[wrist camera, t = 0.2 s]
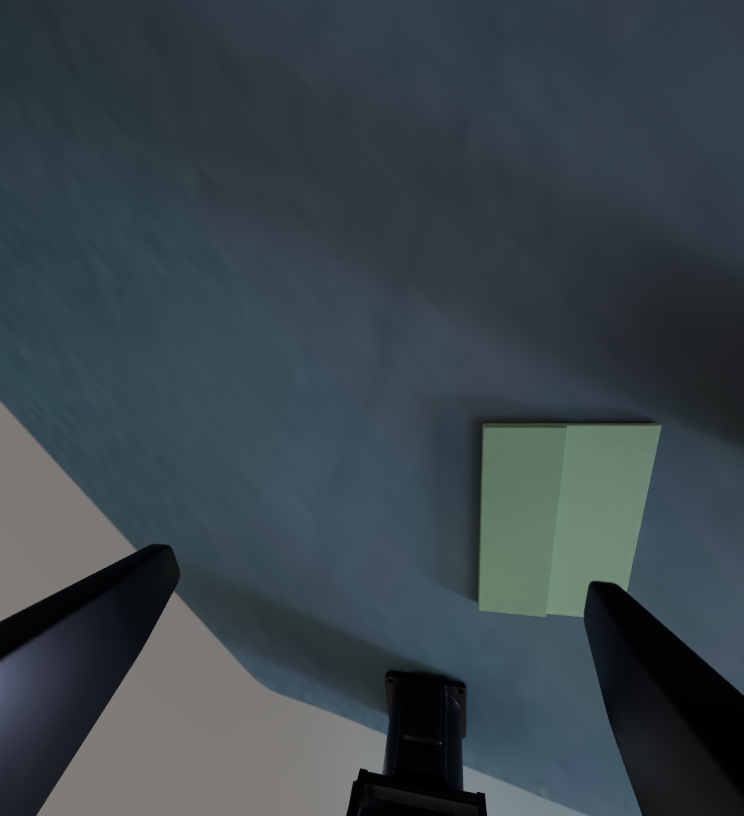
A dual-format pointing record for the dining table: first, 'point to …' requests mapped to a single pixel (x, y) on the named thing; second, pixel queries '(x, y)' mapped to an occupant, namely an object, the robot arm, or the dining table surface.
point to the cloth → (559, 511)
